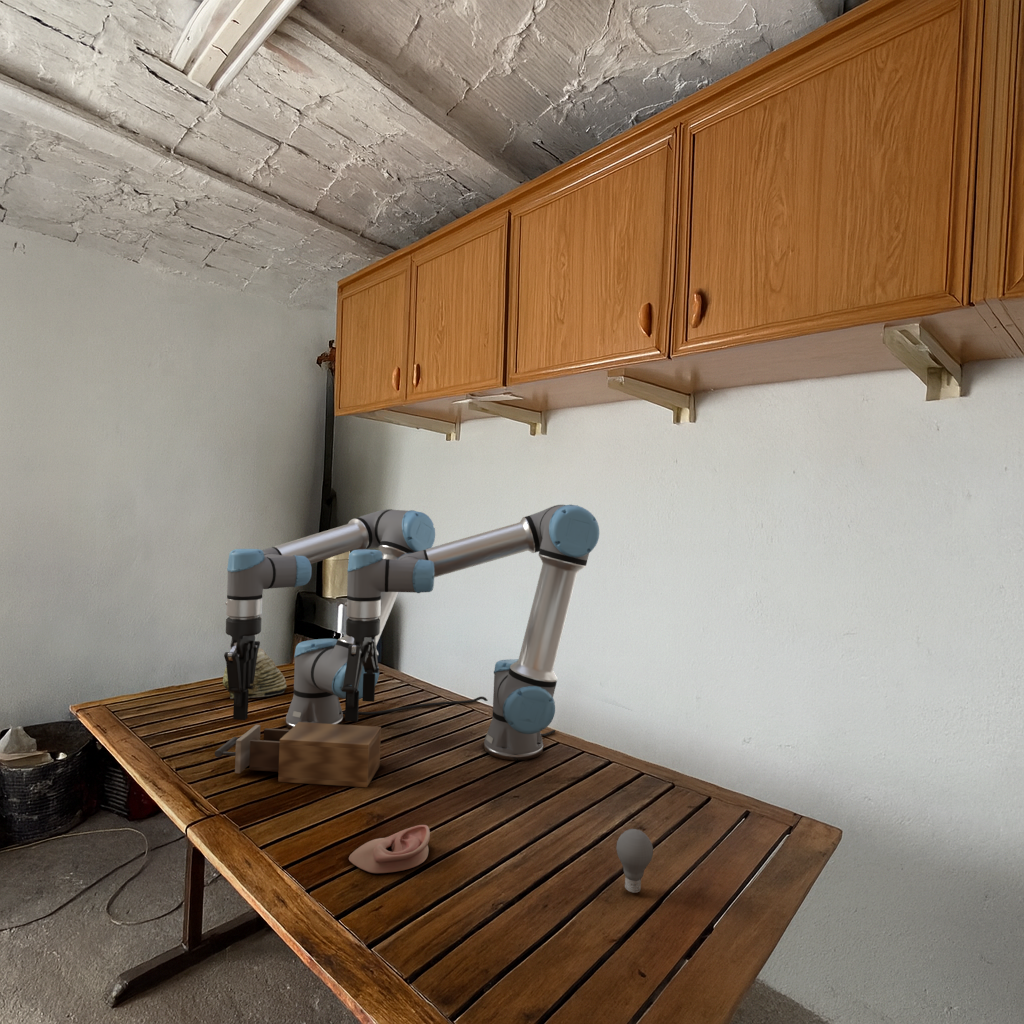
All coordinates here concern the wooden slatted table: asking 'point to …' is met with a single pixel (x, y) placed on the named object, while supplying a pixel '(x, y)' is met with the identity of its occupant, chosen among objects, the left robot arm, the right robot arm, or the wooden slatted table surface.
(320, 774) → the cabinet
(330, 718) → the left robot arm
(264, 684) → the fossil
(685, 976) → the wooden slatted table surface
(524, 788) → the wooden slatted table surface
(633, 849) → the light bulb
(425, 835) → the anatomical model
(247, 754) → the drawer
